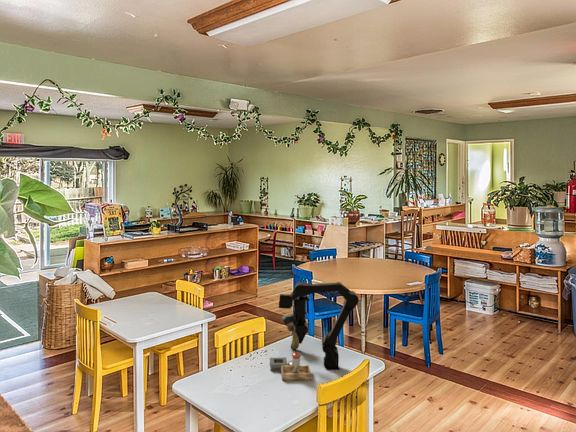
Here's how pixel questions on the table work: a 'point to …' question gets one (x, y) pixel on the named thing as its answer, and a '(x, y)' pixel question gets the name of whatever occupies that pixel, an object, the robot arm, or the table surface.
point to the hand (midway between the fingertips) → (299, 340)
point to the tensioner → (278, 363)
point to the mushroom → (293, 337)
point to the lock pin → (295, 362)
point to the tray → (302, 375)
